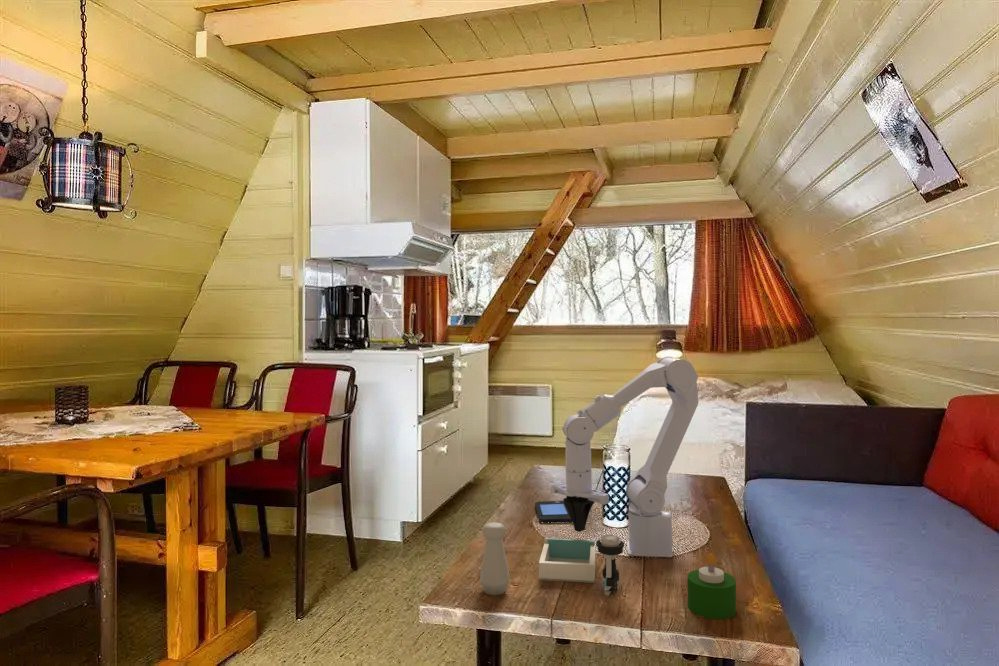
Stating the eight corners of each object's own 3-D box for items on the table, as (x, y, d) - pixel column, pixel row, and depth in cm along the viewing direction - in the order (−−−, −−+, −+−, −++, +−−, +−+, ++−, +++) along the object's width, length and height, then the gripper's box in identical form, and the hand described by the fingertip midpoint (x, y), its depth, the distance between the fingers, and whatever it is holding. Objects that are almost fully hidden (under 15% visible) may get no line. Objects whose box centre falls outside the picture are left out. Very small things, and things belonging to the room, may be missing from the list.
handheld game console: (534, 506, 177) (534, 473, 177) (581, 505, 177) (581, 472, 177) (539, 524, 161) (539, 489, 161) (591, 523, 162) (591, 487, 161)
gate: (594, 558, 137) (594, 540, 136) (594, 560, 136) (594, 541, 136) (544, 555, 139) (544, 537, 139) (544, 557, 138) (544, 539, 138)
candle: (746, 615, 111) (745, 558, 110) (705, 622, 108) (705, 564, 108) (717, 595, 119) (716, 543, 118) (678, 601, 116) (678, 548, 116)
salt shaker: (481, 584, 125) (479, 519, 125) (509, 584, 125) (508, 519, 125) (479, 597, 119) (478, 529, 119) (509, 597, 119) (508, 529, 119)
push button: (620, 599, 117) (619, 546, 117) (592, 595, 119) (591, 543, 119) (627, 585, 123) (626, 535, 123) (600, 581, 125) (599, 532, 125)
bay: (595, 561, 136) (595, 545, 136) (594, 583, 125) (594, 565, 125) (544, 559, 138) (544, 543, 137) (539, 580, 127) (539, 562, 127)
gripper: (542, 468, 143) (543, 527, 143) (594, 478, 133) (596, 542, 133) (561, 462, 148) (562, 519, 148) (613, 472, 138) (614, 533, 138)
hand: (579, 530), depth 141 cm, fingers closed
